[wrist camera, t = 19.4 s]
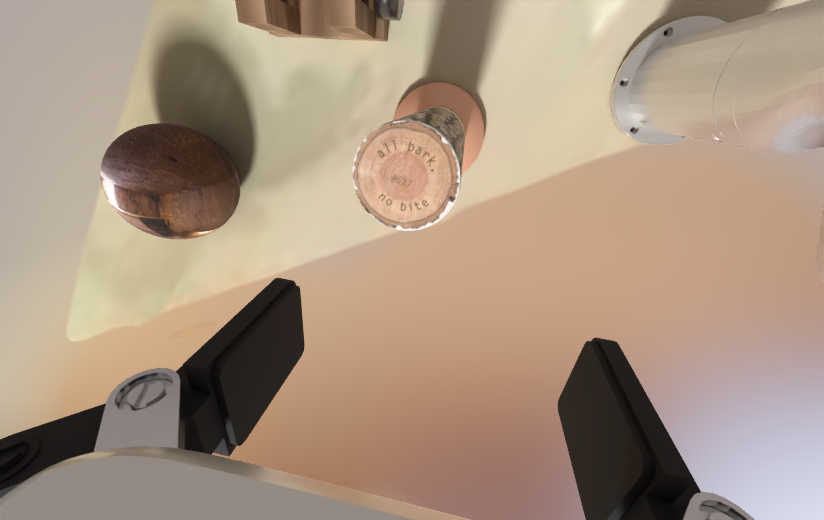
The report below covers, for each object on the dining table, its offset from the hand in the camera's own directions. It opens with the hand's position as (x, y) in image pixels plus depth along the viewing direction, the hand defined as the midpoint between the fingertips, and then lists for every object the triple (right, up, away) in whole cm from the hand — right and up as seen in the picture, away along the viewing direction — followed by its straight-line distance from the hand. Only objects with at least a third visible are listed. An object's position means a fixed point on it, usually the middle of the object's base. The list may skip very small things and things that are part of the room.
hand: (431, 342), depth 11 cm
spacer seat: (+3, +19, +32) cm, 38 cm away
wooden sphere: (-31, +17, +40) cm, 53 cm away
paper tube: (+3, +19, +32) cm, 37 cm away
